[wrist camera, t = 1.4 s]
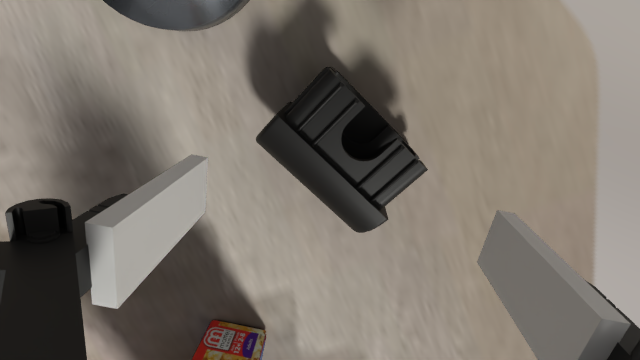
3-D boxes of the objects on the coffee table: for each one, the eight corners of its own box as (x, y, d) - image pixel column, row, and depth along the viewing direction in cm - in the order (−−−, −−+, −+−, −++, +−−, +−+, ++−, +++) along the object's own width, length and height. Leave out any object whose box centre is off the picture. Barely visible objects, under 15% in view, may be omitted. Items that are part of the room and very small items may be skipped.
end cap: (267, 127, 28) (244, 149, 21) (327, 61, 26) (322, 63, 19) (352, 207, 30) (355, 248, 23) (415, 151, 28) (437, 180, 21)
